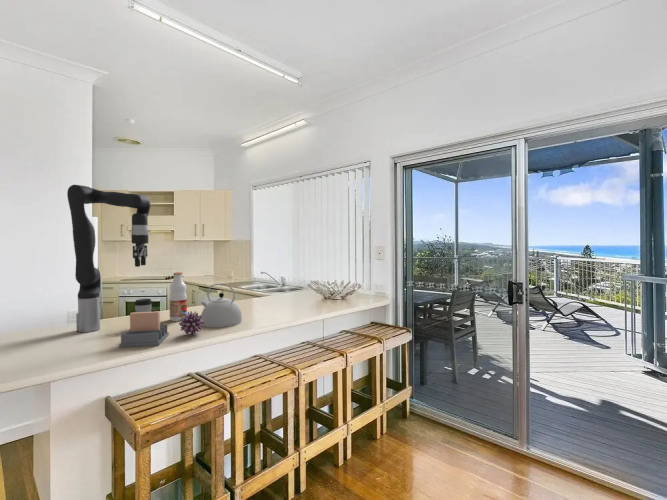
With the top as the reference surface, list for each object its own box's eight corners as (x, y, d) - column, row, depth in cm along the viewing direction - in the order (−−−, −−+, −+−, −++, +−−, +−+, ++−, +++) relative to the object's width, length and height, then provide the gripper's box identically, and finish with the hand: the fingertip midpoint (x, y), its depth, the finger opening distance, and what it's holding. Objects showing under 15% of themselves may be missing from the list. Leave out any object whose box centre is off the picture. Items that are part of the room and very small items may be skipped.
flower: (190, 330, 177) (189, 308, 177) (209, 332, 173) (209, 309, 173) (173, 336, 166) (173, 312, 166) (193, 338, 162) (193, 314, 162)
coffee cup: (155, 325, 187) (155, 298, 187) (146, 329, 179) (145, 301, 178) (141, 325, 188) (141, 298, 187) (131, 329, 180) (130, 301, 179)
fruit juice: (170, 318, 205) (169, 272, 204) (187, 317, 208) (186, 271, 207) (168, 321, 196) (168, 273, 195) (186, 320, 199) (186, 273, 198)
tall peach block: (130, 339, 156) (129, 313, 156) (132, 337, 159) (131, 312, 158) (158, 337, 159) (158, 312, 159) (160, 336, 161) (159, 311, 161)
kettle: (188, 325, 188) (187, 285, 188) (213, 316, 210) (212, 280, 209) (227, 328, 182) (227, 286, 181) (249, 319, 203) (248, 281, 203)
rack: (119, 347, 149) (119, 335, 149) (133, 336, 165) (133, 325, 165) (158, 345, 152) (158, 333, 152) (168, 335, 169) (168, 324, 169)
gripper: (136, 234, 179) (137, 265, 179) (126, 233, 165) (127, 267, 165) (152, 234, 180) (152, 264, 181) (143, 234, 166) (143, 267, 167)
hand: (140, 266), depth 173 cm, fingers open, 8 cm apart
